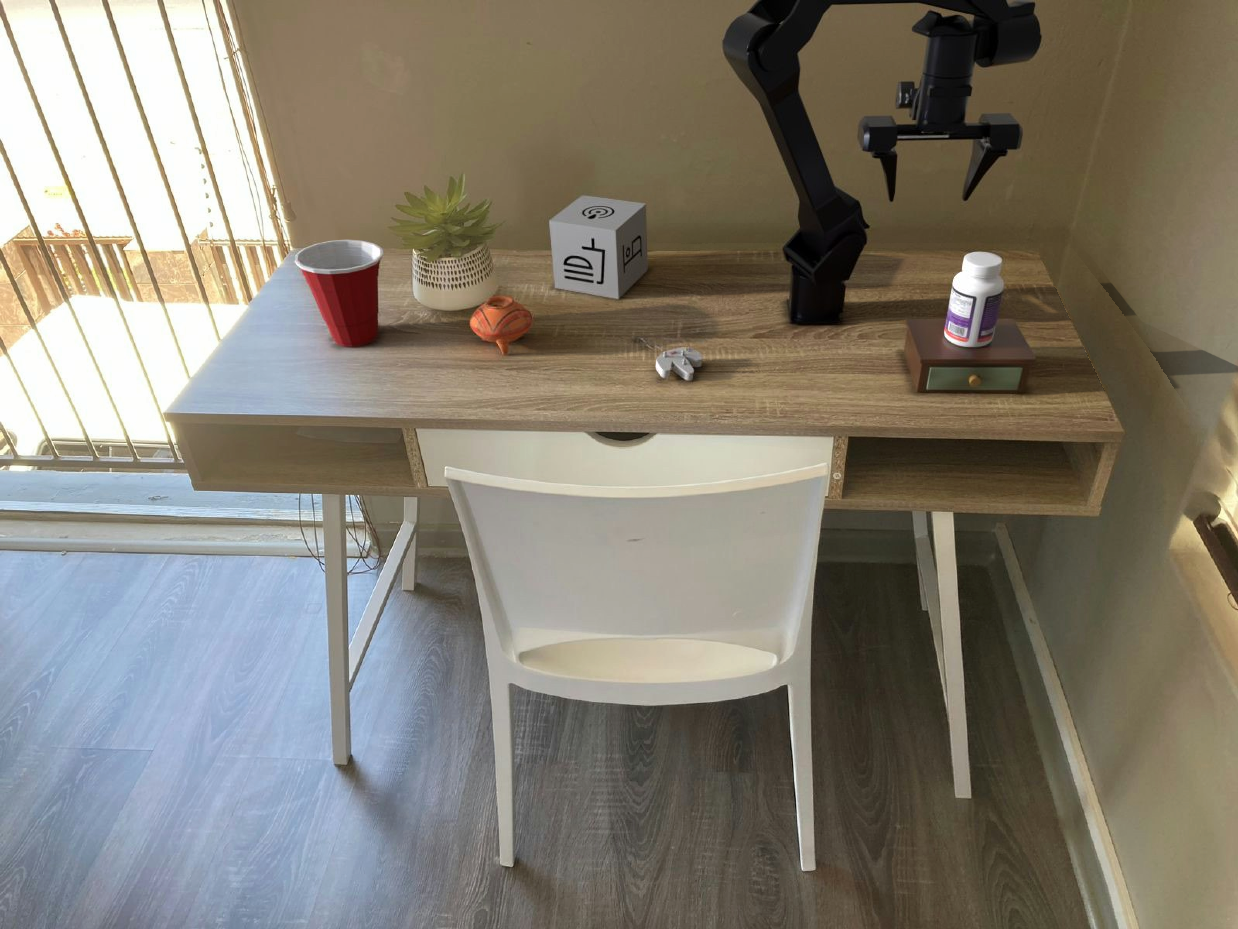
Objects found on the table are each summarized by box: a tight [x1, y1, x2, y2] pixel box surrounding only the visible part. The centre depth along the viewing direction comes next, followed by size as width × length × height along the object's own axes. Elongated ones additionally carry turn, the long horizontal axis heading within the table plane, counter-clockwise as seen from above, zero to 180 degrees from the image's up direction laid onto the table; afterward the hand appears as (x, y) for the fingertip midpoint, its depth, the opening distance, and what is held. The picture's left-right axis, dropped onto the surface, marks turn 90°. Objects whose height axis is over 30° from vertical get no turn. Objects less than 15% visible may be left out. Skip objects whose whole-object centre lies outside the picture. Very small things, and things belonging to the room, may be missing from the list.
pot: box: [469, 295, 534, 356], centre depth 120 cm, size 8×8×7 cm
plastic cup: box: [294, 239, 384, 348], centre depth 121 cm, size 11×11×12 cm
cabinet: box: [903, 318, 1037, 394], centre depth 110 cm, size 13×10×5 cm
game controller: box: [637, 337, 703, 382], centre depth 115 cm, size 6×12×3 cm, turn 49°
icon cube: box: [548, 194, 649, 300], centre depth 133 cm, size 10×10×10 cm
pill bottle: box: [944, 251, 1005, 347], centre depth 106 cm, size 5×5×10 cm
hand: (927, 200), depth 121 cm, fingers open, 9 cm apart
